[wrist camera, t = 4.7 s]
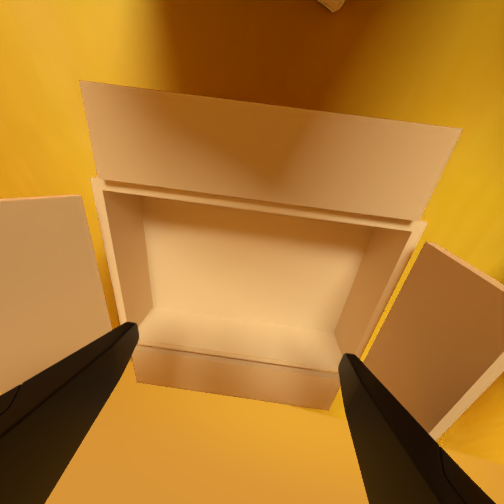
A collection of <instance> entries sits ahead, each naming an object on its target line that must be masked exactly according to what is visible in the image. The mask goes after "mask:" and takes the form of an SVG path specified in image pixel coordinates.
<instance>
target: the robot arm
mask: <svg viewBox="0 0 504 504" xmlns="http://www.w3.org/2000/svg"><path fill="white" fill-rule="evenodd" d="M138 341H139V331H138V325H137V323H135V322H125V323H123V324H122V325H120V326H118V327H117V328H115V329H113V330H111V331H110V332H108V333H106V334H105V335H103V336H101V337H100V338H98V339H96V340H94V341H93V342H91V343H89V344H88V345H86V346H84V347H82V348H81V349H79V350H77V351H76V352H74V353H72V354H71V355H69V356H67V357H65V358H64V359H62V360H60V361H59V362H57V363H55V364H54V365H52V366H50V367H48V368H47V369H45V370H43V371H42V372H40V373H38V374H36V375H35V376H33V377H31V378H30V379H28V380H26V381H25V382H23V383H22V384H19V385H18V386H16V387H14V388H13V389H11V390H9V391H7V392H6V393H4V394H2V395H1V396H0V504H45V502H46V500H47V498H48V497H49V495H50V493H51V492H52V490H53V489H54V487H55V486H56V484H57V482H58V481H59V479H60V477H61V476H62V474H63V472H64V470H65V469H66V467H67V465H68V464H69V462H70V461H71V459H72V457H73V456H74V454H75V453H76V451H77V449H78V447H79V446H80V444H81V443H82V441H83V439H84V437H85V436H86V434H87V433H88V431H89V429H90V428H91V426H92V424H93V423H94V421H95V419H96V418H97V416H98V414H99V413H100V411H101V410H102V408H103V406H104V405H105V403H106V401H107V400H108V398H109V396H110V395H111V393H112V391H113V389H114V388H115V386H116V385H117V383H118V381H119V380H120V378H121V376H122V374H123V372H124V370H125V368H126V366H127V364H128V362H129V360H130V358H131V356H132V354H133V351H134V349H135V347H136V345H137V343H138ZM338 372H339V378H340V384H341V391H342V397H343V403H344V408H345V413H346V417H347V421H348V425H349V429H350V432H351V436H352V440H353V444H354V448H355V452H356V455H357V459H358V463H359V467H360V470H361V474H362V478H363V482H364V486H365V490H366V493H367V497H368V501H369V504H496V503H495V502H494V501H493V500H492V499H491V498H490V497H489V496H488V495H486V493H485V492H483V490H481V488H480V487H479V486H478V485H477V484H476V483H475V482H474V481H473V480H471V478H470V477H469V476H468V475H467V474H466V473H465V472H464V471H463V470H462V469H461V468H460V467H459V466H458V465H457V464H456V462H454V460H453V459H452V458H451V457H450V456H449V455H448V454H447V453H446V452H445V451H444V450H443V449H442V448H441V447H439V445H438V443H437V442H436V441H435V440H434V439H433V438H432V437H431V436H430V435H429V434H428V432H427V431H426V430H425V429H424V428H423V427H422V426H421V425H420V424H419V423H418V422H417V421H416V420H415V418H414V417H413V416H412V415H411V414H410V413H409V412H408V411H407V410H406V409H405V408H404V407H403V406H402V404H401V403H400V402H399V401H398V400H397V399H396V398H395V397H394V396H393V395H392V394H391V393H390V392H389V390H388V389H387V388H386V387H385V386H384V385H383V384H382V383H381V382H380V381H379V380H378V379H377V377H376V376H375V375H374V374H373V373H372V372H371V371H370V370H369V369H368V368H367V367H366V366H365V365H364V363H363V362H362V361H361V360H360V359H359V358H358V357H357V356H356V355H355V354H351V353H344V354H343V356H342V359H341V361H340V363H339V366H338Z"/></svg>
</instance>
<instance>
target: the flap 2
mask: <svg viewBox="0 0 504 504" xmlns="http://www.w3.org/2000/svg"><path fill="white" fill-rule="evenodd" d="M363 363H364V365H365V366H366V367H367V368H368V369H369V370H370V371H371V372H372V373H373V374H374V375H375V376H376V377H377V379H378V380H379V381H380V382H381V383H382V384H383V385H384V386H385V387H386V388H387V389H388V390H389V392H390V393H391V394H392V395H393V396H394V397H395V398H396V399H397V400H398V401H399V402H400V403H401V404H402V406H403V407H404V408H405V409H406V410H407V411H408V412H409V413H410V414H411V415H412V416H413V417H414V418H415V420H416V421H417V422H418V423H419V424H420V425H421V426H422V427H423V428H424V429H425V430H426V431H427V432H428V434H429V435H430V436H431V437H432V438H433V439H434V440H435V441H437V440H438V438H439V437H440V436H441V435H442V434H443V433H444V432H445V431H446V430H447V429H448V428H449V427H450V426H451V425H452V424H453V423H454V422H455V421H456V420H457V419H458V418H459V417H460V416H461V415H462V414H463V413H464V412H465V411H466V410H467V409H468V408H469V407H470V406H471V404H472V403H473V402H474V401H475V400H476V399H477V398H478V397H479V396H480V395H481V394H482V393H483V392H484V391H485V390H486V389H487V388H488V387H489V386H490V385H491V384H492V383H493V382H494V381H495V380H496V379H497V378H498V377H499V376H500V375H501V374H502V373H503V372H504V285H503V284H501V283H500V282H498V281H497V280H495V279H493V278H492V277H490V276H488V275H487V274H485V273H483V272H482V271H480V270H478V269H477V268H475V267H474V266H472V265H470V264H469V263H467V262H465V261H464V260H462V259H460V258H459V257H457V256H455V255H454V254H452V253H450V252H449V251H447V250H446V249H444V248H442V247H441V246H439V245H437V244H436V243H431V242H425V244H424V246H423V248H422V250H421V252H420V254H419V256H418V258H417V259H416V261H415V263H414V265H413V267H412V269H411V271H410V273H409V275H408V277H407V279H406V281H405V283H404V285H403V287H402V289H401V291H400V292H399V294H398V296H397V298H396V300H395V302H394V304H393V306H392V308H391V310H390V312H389V314H388V316H387V318H386V320H385V322H384V324H383V325H382V327H381V329H380V331H379V333H378V335H377V337H376V339H375V341H374V343H373V345H372V347H371V349H370V351H369V353H368V355H367V357H366V359H365V360H364V362H363Z"/></svg>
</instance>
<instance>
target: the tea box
mask: <svg viewBox="0 0 504 504" xmlns="http://www.w3.org/2000/svg"><path fill="white" fill-rule="evenodd" d="M317 1H319V2H320V3H321V4H323V5H324V6H326V7H327V8H328V9H329V10H330V11H331V12H332V13H333V12H335V11H336V10H339V9H340V8H341V7H342V5H343V4H344V2H345V0H317Z"/></svg>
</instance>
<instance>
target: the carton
mask: <svg viewBox="0 0 504 504" xmlns="http://www.w3.org/2000/svg"><path fill="white" fill-rule="evenodd" d="M79 82H80V87H81V92H82V98H83V103H84V108H85V113H86V119H87V124H88V129H89V134H90V139H91V145H92V150H93V155H94V160H95V166H96V171H97V176H98V177H93V178H90V180H91V185H92V190H93V195H94V199H95V204H96V209H97V214H98V219H99V224H100V228H101V233H102V238H103V243H104V248H105V253H106V258H107V262H108V267H109V272H110V277H111V282H112V287H113V291H114V296H115V301H116V306H117V311H118V316H119V321H120V325H122V324H123V323H125V322H135V323H137V325H138V331H139V341H138V343H137V344H140V345H147V346H154V347H161V348H168V349H175V350H182V351H189V352H196V353H203V354H210V355H216V356H210V355H203V354H196V353H189V352H182V351H175V350H168V349H161V348H154V347H147V346H140V345H136V347H135V349H134V351H133V354H132V359H133V364H134V370H135V375H136V380H137V382H138V383H145V384H152V385H158V386H165V387H173V388H179V389H186V390H192V391H199V392H206V393H213V394H220V395H226V396H227V395H228V396H234V397H240V398H247V399H254V400H261V401H267V402H275V403H281V404H288V405H295V406H302V407H308V408H315V409H322V410H329V409H330V406H331V404H332V402H333V400H334V398H335V396H336V394H337V392H338V390H339V388H340V386H341V384H340V378H339V374H335V373H339V372H338V366H339V363H340V361H341V359H342V356H343V354H344V353H351V354H355V355H356V356H357V357H358V358H359V359H360V358H361V356H362V354H363V352H364V350H365V348H366V346H367V344H368V342H369V340H370V338H371V336H372V333H373V331H374V329H375V327H376V325H377V323H378V321H379V319H380V317H381V315H382V313H383V311H384V309H385V307H386V305H387V303H388V301H389V299H390V297H391V295H392V293H393V291H394V289H395V287H396V285H397V283H398V281H399V279H400V277H401V275H402V273H403V271H404V269H405V267H406V265H407V263H408V261H409V259H410V257H411V255H412V253H413V251H414V249H415V247H416V245H417V243H418V241H419V239H420V237H421V235H422V233H423V231H424V229H425V227H426V225H427V222H425V221H422V220H420V218H421V216H422V214H423V212H424V210H425V208H426V206H427V204H428V202H429V199H430V197H431V195H432V193H433V191H434V189H435V187H436V185H437V183H438V181H439V179H440V176H441V174H442V172H443V170H444V168H445V166H446V164H447V162H448V160H449V158H450V156H451V153H452V151H453V149H454V147H455V145H456V143H457V141H458V139H459V137H460V135H461V133H462V130H463V129H461V128H453V127H445V126H437V125H429V124H421V123H413V122H406V121H398V120H390V119H382V118H374V117H366V116H358V115H350V114H342V113H334V112H326V111H318V110H310V109H303V108H295V107H287V106H279V105H271V104H263V103H255V102H247V101H239V100H231V99H223V98H215V97H207V96H200V95H192V94H184V93H176V92H168V91H160V90H152V89H144V88H136V87H128V86H120V85H112V84H105V83H97V82H89V81H81V80H79ZM217 356H223V357H217ZM224 357H230V358H237V359H244V360H251V361H258V362H265V363H272V364H279V365H286V366H293V367H300V368H307V369H314V370H321V371H328V372H335V373H328V372H321V371H314V370H307V369H300V368H293V367H286V366H279V365H272V364H265V363H258V362H251V361H244V360H237V359H230V358H224Z"/></svg>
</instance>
